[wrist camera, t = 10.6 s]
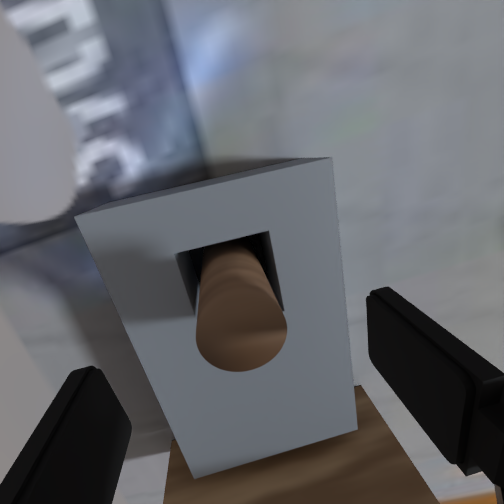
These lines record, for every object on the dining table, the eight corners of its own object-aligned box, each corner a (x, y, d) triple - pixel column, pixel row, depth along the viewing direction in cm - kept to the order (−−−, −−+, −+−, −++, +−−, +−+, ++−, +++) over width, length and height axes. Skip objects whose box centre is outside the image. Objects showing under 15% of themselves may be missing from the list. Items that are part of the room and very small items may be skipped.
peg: (196, 238, 20) (183, 308, 11) (247, 226, 20) (279, 283, 11) (210, 284, 21) (209, 381, 12) (258, 272, 22) (293, 358, 12)
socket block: (108, 202, 18) (73, 216, 14) (302, 157, 19) (332, 157, 14) (197, 421, 26) (194, 479, 21) (332, 382, 27) (357, 429, 22)
